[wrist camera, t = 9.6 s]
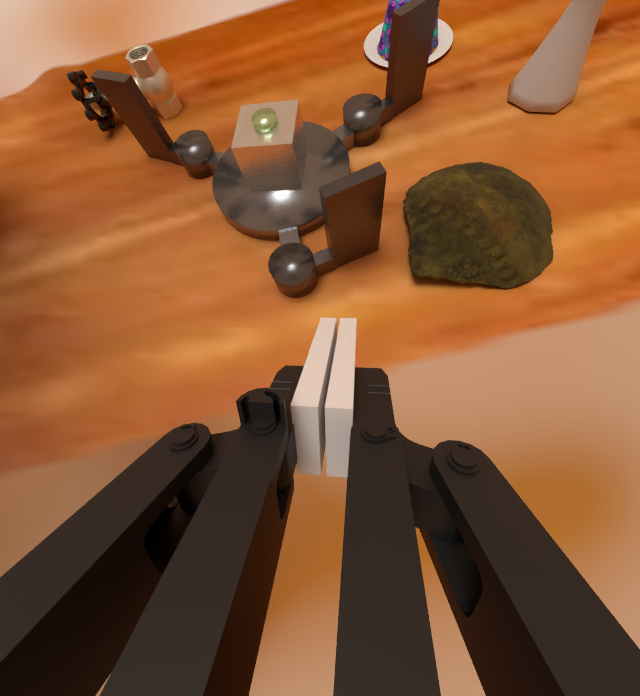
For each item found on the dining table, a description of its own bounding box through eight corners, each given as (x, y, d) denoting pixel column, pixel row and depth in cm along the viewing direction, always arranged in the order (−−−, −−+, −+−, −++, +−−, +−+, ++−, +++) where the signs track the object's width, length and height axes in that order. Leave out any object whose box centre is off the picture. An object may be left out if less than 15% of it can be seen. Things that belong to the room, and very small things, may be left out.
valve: (184, 93, 42) (111, 114, 43) (154, 33, 36) (69, 59, 37) (185, 121, 40) (107, 142, 41) (153, 63, 34) (63, 89, 35)
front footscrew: (284, 304, 29) (254, 246, 20) (271, 271, 30) (237, 204, 22) (384, 261, 29) (396, 186, 20) (366, 230, 30) (370, 148, 22)
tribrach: (111, 264, 33) (27, 203, 25) (162, 119, 41) (111, 35, 32) (430, 258, 28) (461, 180, 20) (420, 94, 36) (440, -15, 27)
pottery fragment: (531, 174, 30) (558, 132, 26) (554, 292, 26) (591, 264, 22) (400, 179, 32) (407, 142, 28) (401, 290, 28) (408, 264, 24)
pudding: (427, 12, 41) (437, -46, 36) (467, 55, 37) (484, -4, 32) (351, 40, 41) (351, -14, 36) (383, 86, 37) (386, 33, 32)
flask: (520, 69, 35) (581, -69, 25) (583, 82, 33) (674, -62, 23) (495, 106, 33) (550, -26, 24) (559, 122, 31) (646, -14, 22)
